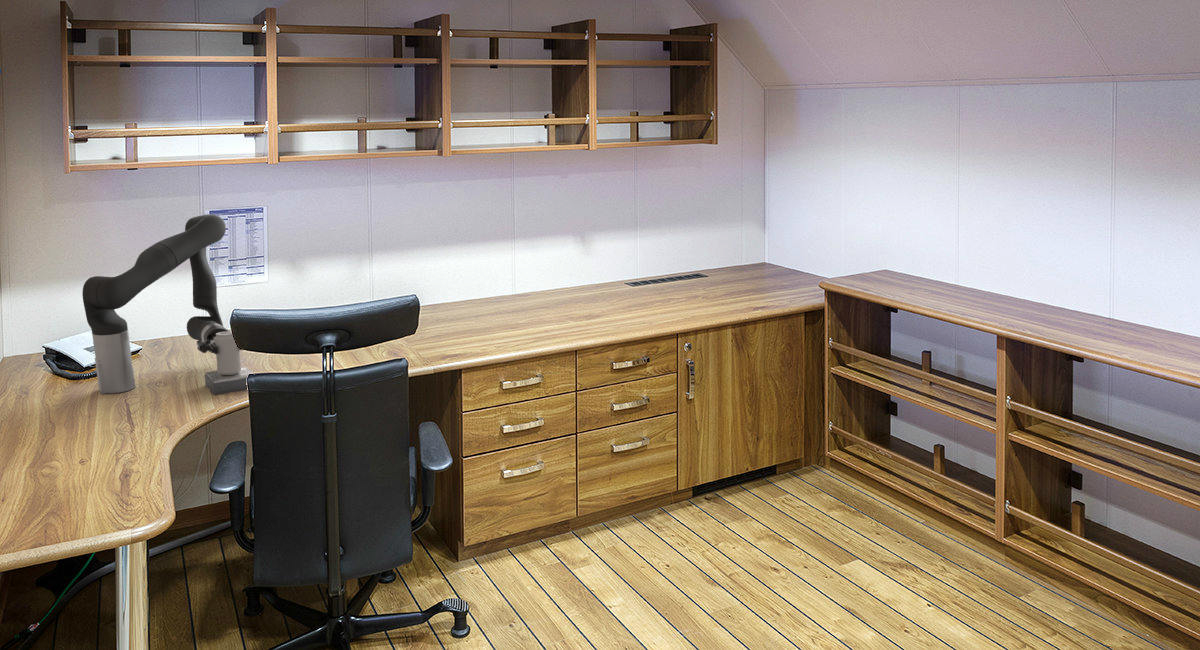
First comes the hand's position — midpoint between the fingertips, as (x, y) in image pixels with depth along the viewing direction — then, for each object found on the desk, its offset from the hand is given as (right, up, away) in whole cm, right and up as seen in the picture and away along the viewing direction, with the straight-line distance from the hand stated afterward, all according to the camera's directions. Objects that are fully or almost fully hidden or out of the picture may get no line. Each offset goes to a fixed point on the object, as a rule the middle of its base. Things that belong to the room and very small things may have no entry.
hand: (229, 348), depth 273 cm
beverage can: (-1, -7, +4) cm, 8 cm away
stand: (-1, -11, +5) cm, 12 cm away
